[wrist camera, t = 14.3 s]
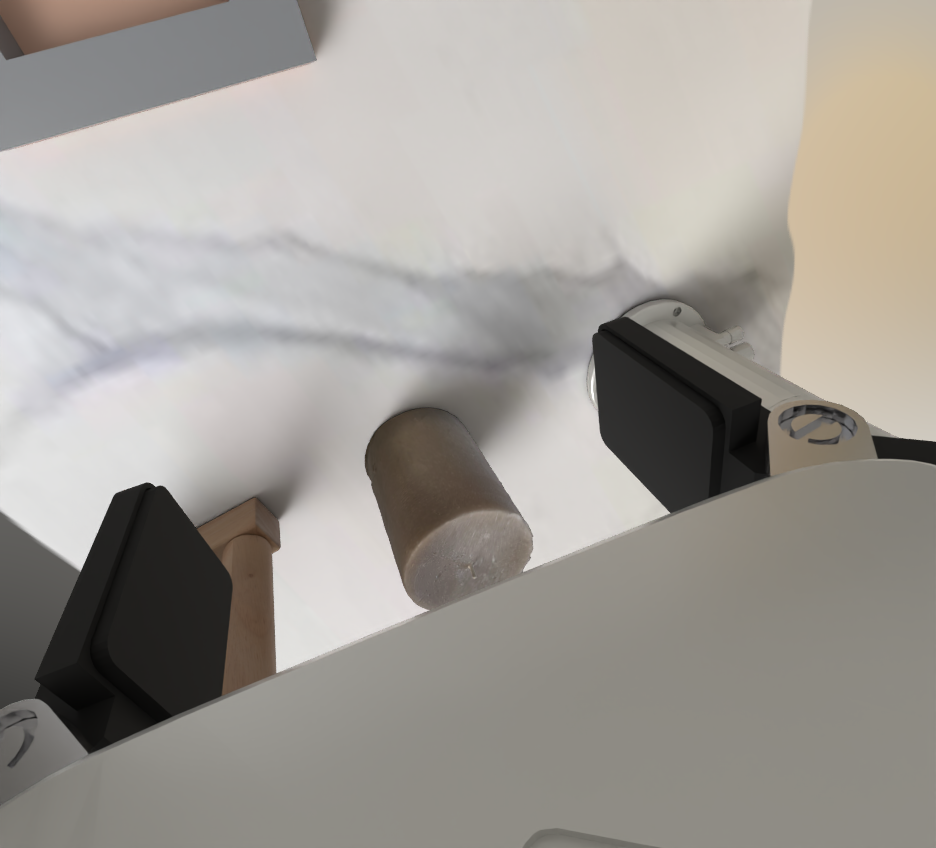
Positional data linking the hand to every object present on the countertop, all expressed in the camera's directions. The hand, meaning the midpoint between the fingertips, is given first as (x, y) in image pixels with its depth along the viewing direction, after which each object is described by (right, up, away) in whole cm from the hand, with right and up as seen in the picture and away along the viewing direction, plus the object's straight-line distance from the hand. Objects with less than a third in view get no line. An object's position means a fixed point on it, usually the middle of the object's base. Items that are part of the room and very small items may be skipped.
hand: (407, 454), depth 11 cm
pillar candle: (-3, -2, +35) cm, 36 cm away
